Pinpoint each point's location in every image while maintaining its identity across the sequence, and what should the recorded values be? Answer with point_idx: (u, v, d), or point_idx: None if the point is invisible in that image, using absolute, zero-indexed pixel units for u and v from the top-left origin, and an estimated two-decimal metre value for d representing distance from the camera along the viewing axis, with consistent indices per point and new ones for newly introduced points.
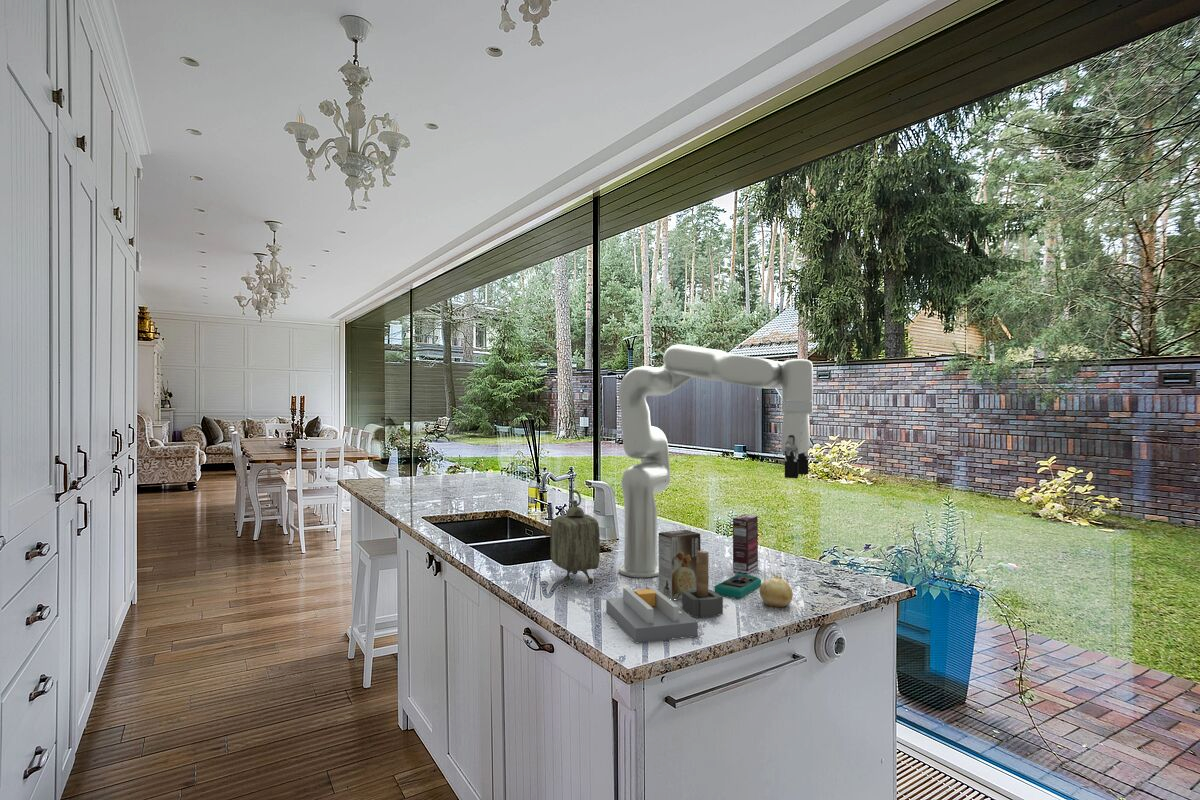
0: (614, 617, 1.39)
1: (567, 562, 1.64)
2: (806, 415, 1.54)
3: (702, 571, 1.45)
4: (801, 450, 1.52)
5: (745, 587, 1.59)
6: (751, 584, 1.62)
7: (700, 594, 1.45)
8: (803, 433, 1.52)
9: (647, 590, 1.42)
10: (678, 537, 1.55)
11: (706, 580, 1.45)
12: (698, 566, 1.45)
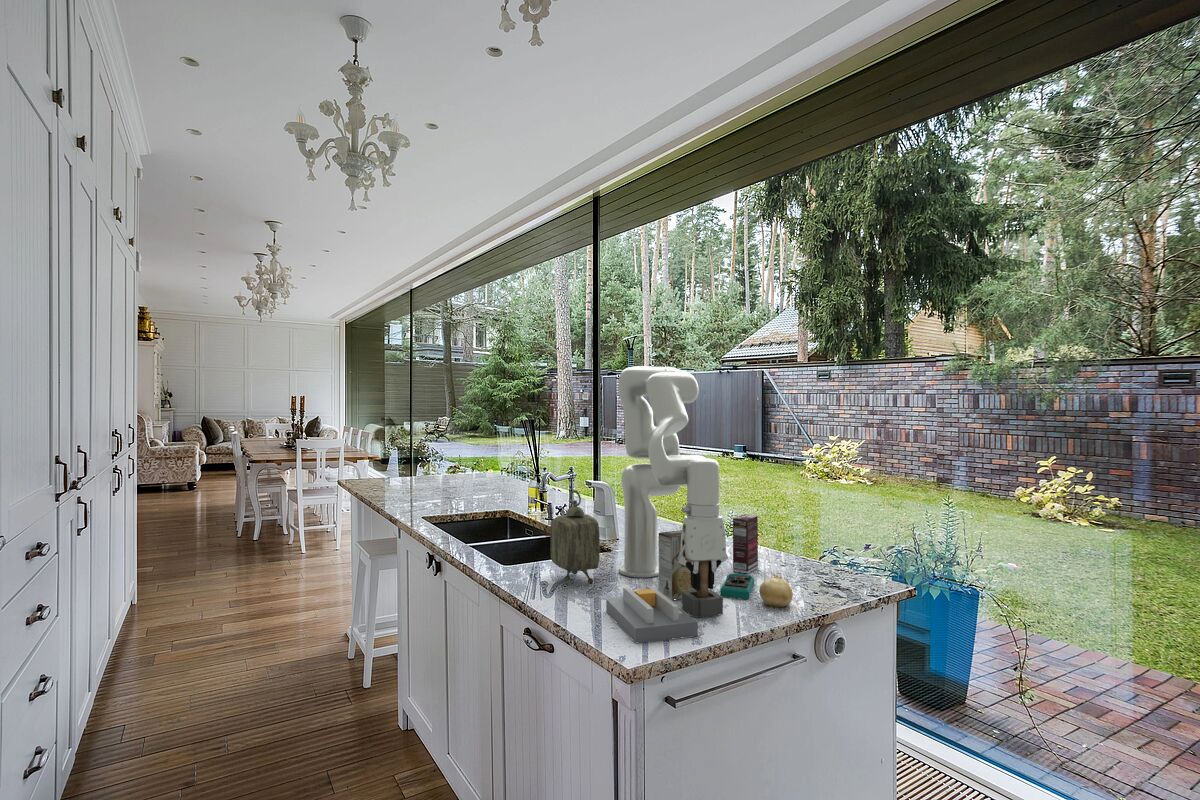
0: (614, 617, 1.39)
1: (567, 562, 1.64)
2: None
3: (702, 571, 1.45)
4: None
5: (749, 587, 1.59)
6: (750, 583, 1.63)
7: (700, 594, 1.45)
8: None
9: (647, 590, 1.42)
10: (678, 537, 1.55)
11: (706, 580, 1.45)
12: (698, 566, 1.45)
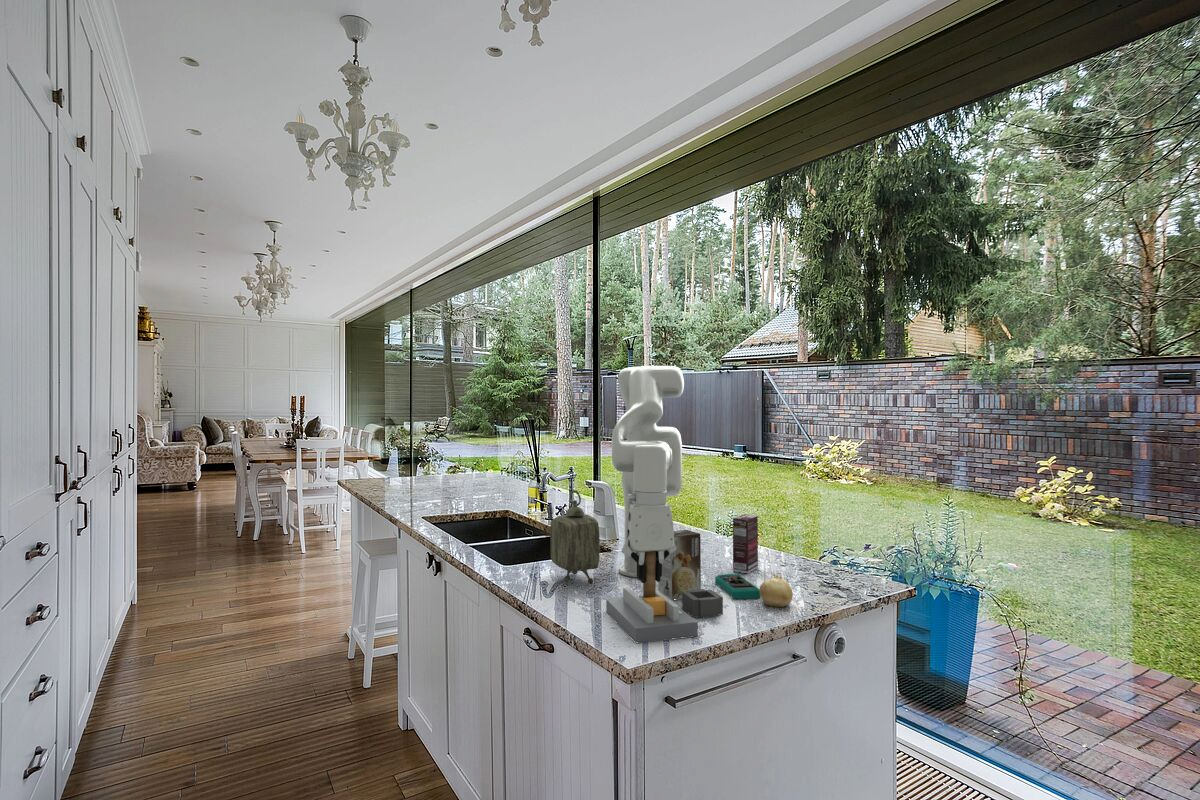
0: (614, 617, 1.39)
1: (567, 562, 1.64)
2: None
3: (649, 562, 1.37)
4: None
5: None
6: None
7: (647, 587, 1.37)
8: None
9: (657, 597, 1.36)
10: (678, 537, 1.55)
11: (653, 572, 1.37)
12: (644, 557, 1.37)
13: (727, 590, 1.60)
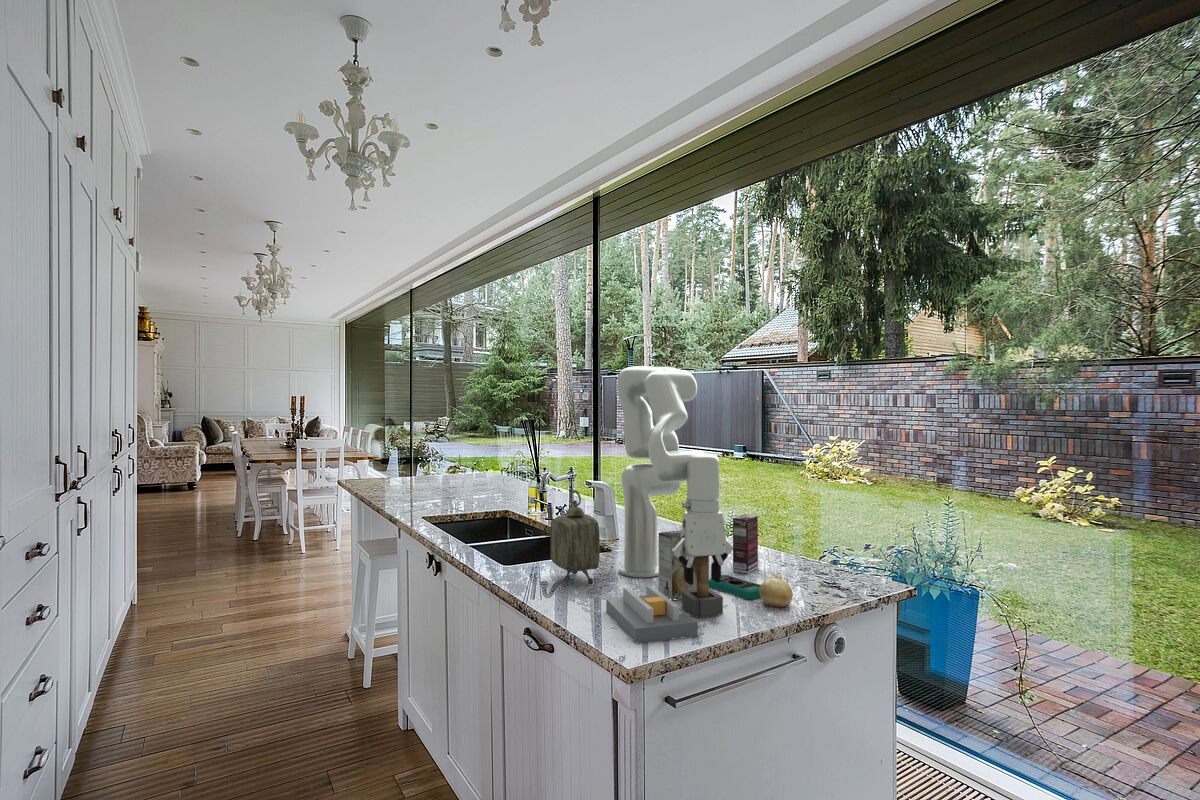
0: (614, 617, 1.39)
1: (567, 562, 1.64)
2: None
3: (703, 571, 1.45)
4: None
5: None
6: None
7: (701, 594, 1.45)
8: None
9: (657, 597, 1.36)
10: (678, 537, 1.55)
11: (706, 580, 1.45)
12: (698, 566, 1.45)
13: (734, 592, 1.59)
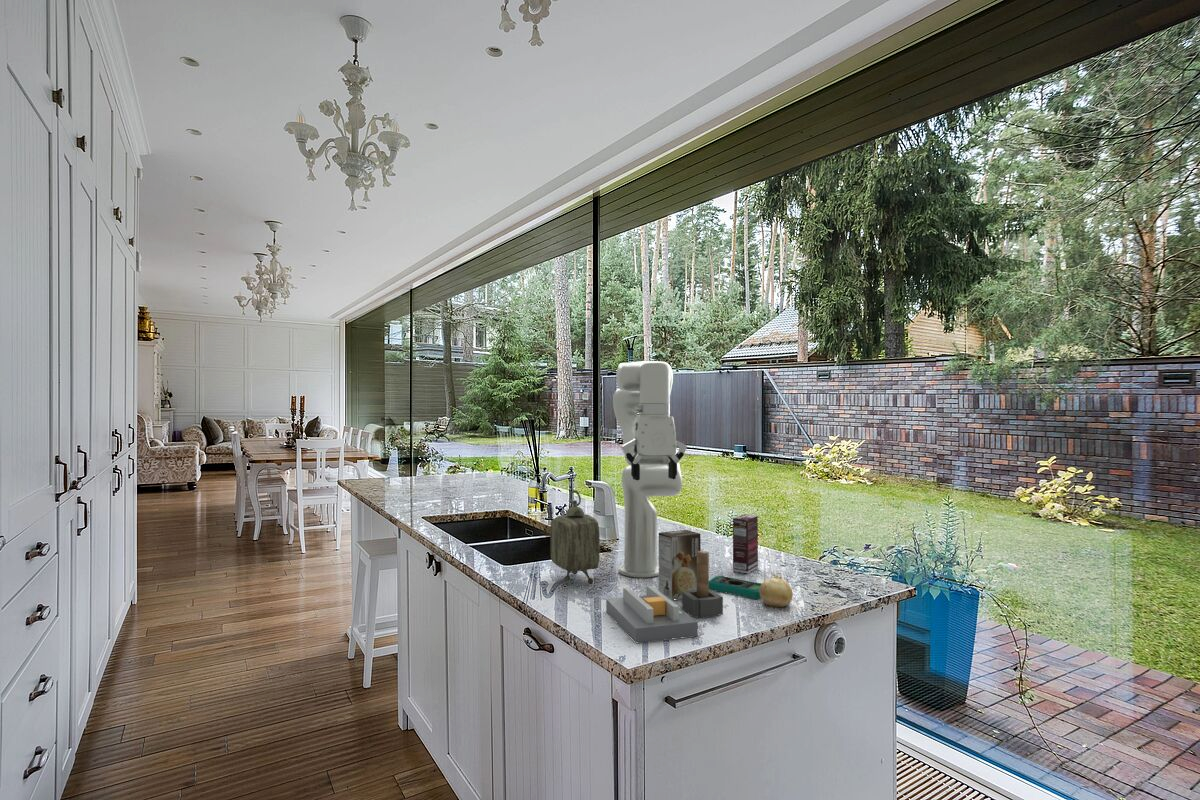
0: (614, 617, 1.39)
1: (567, 562, 1.64)
2: None
3: (703, 571, 1.45)
4: None
5: None
6: None
7: (701, 594, 1.45)
8: None
9: (657, 597, 1.36)
10: (678, 537, 1.55)
11: (706, 580, 1.45)
12: (698, 566, 1.45)
13: (739, 592, 1.59)
